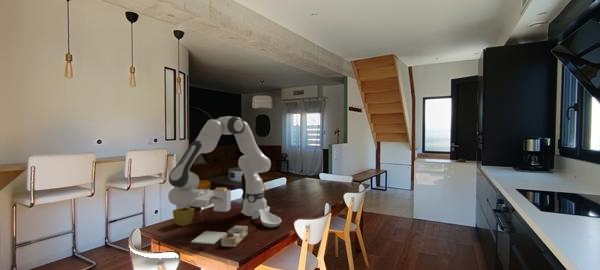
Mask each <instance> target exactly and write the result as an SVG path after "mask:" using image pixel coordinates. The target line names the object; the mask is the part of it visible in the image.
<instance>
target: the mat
mask: <svg viewBox="0 0 600 270" xmlns="http://www.w3.org/2000/svg"><path fill="white" fill-rule="evenodd" d="M226 233H227V232H224V231H210V230H206V231H204V232H202V233H201V234H199V235H198V236H196V238H194V239H193V240H191V241H190V244H204V245H206V244H207V245H214V244H216V243H217V242H218V241H219V240H221V237H223V236H224V235H225V234H226Z"/></svg>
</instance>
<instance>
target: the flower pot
mask: <svg viewBox="0 0 600 270" xmlns="http://www.w3.org/2000/svg"><path fill="white" fill-rule="evenodd" d="M194 213H195V208H192V207H188V206H182V207H178V208H176V209H172V215H173V221H174V222H175V224H176V225H177V226H179V227H180V226H181V227H185V226H188V225H190V224H191V223H192V221H193V220H194V219H193V218H194Z"/></svg>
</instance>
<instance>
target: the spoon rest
mask: <svg viewBox="0 0 600 270" xmlns="http://www.w3.org/2000/svg"><path fill="white" fill-rule="evenodd" d="M259 212H260V217H259ZM251 219H252V220H257V219H260V221H261V224H262V225H263V226H264V227H266V228H276V227H278V226H279V225H280V224H281V223H282V222H283V221H282V219H281V217H279V216H278V215H275V214H272V213H271V212H270V211H269V212H267V211H265V210H263V209H260V210H256V211H254V213H253V215H252V216H251Z"/></svg>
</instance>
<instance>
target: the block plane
mask: <svg viewBox="0 0 600 270" xmlns="http://www.w3.org/2000/svg"><path fill="white" fill-rule="evenodd" d="M248 227H249V226H247V225H234V226H233V227H231V228H229V229H228V230H227V232H226V234H225V235H224V236H223V237H221V238H220V243H221V245H220V246H222V247H231V248H233V247H236V246H237V245H238V244H240V242H241V241H242V240H243V239H244V238H245V237H246V236H248V234H249V233H248V231H249V230H248V229H249V228H248Z"/></svg>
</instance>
